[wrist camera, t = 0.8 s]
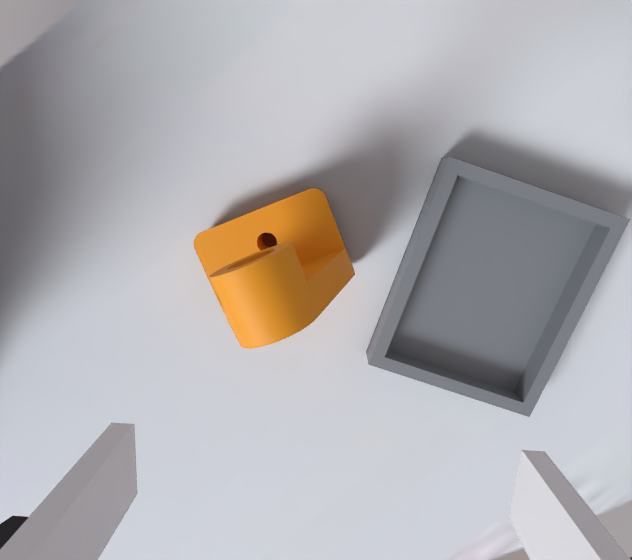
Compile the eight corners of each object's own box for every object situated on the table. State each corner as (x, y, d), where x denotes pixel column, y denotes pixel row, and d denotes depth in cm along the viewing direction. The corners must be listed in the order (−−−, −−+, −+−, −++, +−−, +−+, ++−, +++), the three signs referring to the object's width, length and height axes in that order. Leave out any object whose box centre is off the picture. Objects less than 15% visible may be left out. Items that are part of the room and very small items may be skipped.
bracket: (321, 183, 34) (316, 186, 22) (353, 267, 35) (363, 310, 24) (199, 232, 35) (134, 259, 23) (235, 311, 37) (189, 373, 25)
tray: (366, 352, 37) (368, 364, 34) (441, 158, 33) (450, 156, 30) (516, 401, 37) (529, 416, 35) (608, 216, 33) (630, 219, 31)
